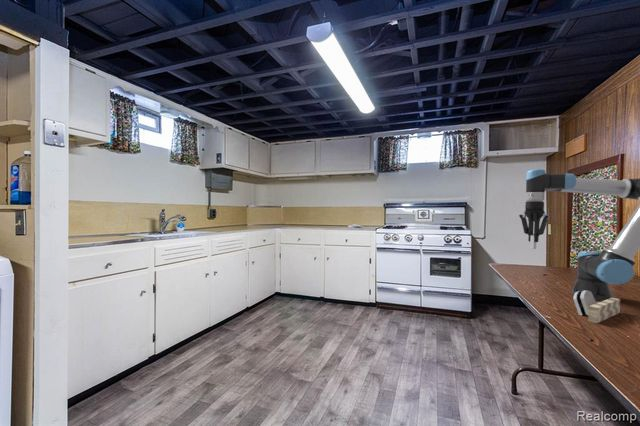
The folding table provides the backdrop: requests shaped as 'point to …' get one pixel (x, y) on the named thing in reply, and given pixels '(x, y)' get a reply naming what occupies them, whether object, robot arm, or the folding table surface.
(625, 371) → the folding table surface
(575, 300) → the white black rounded case
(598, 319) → the bench stop
